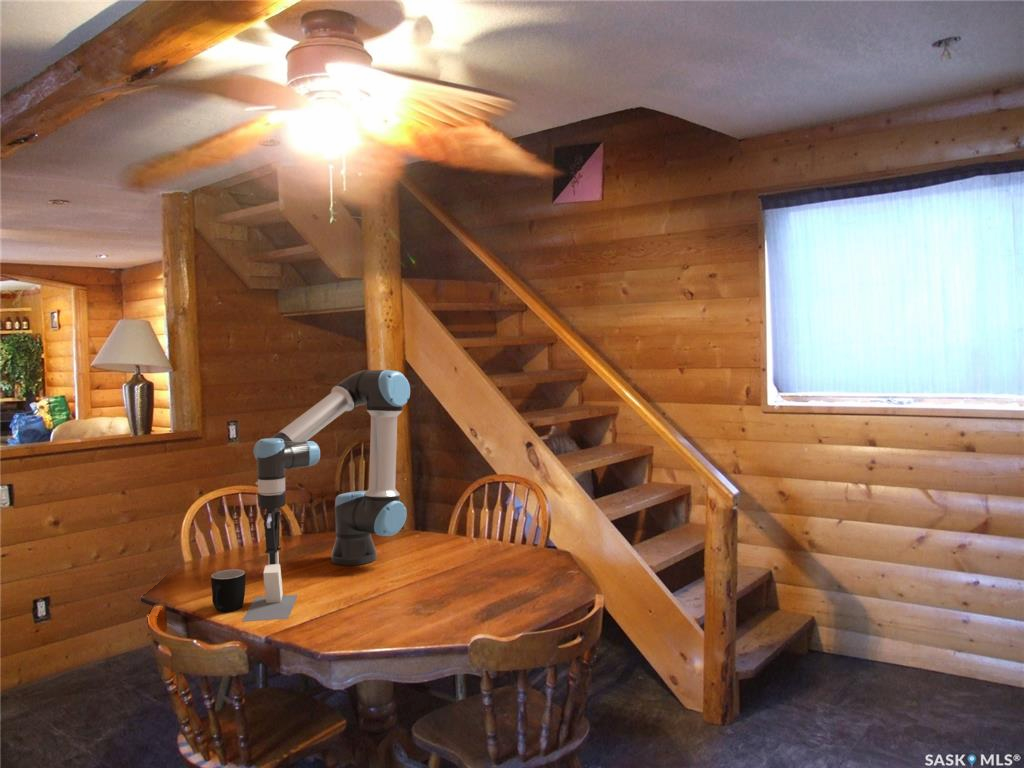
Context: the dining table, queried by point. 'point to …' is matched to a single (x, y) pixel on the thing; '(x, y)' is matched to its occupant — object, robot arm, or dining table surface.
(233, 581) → the mug
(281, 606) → the felt mat
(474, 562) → the dining table surface
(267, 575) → the pillar
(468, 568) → the dining table surface
